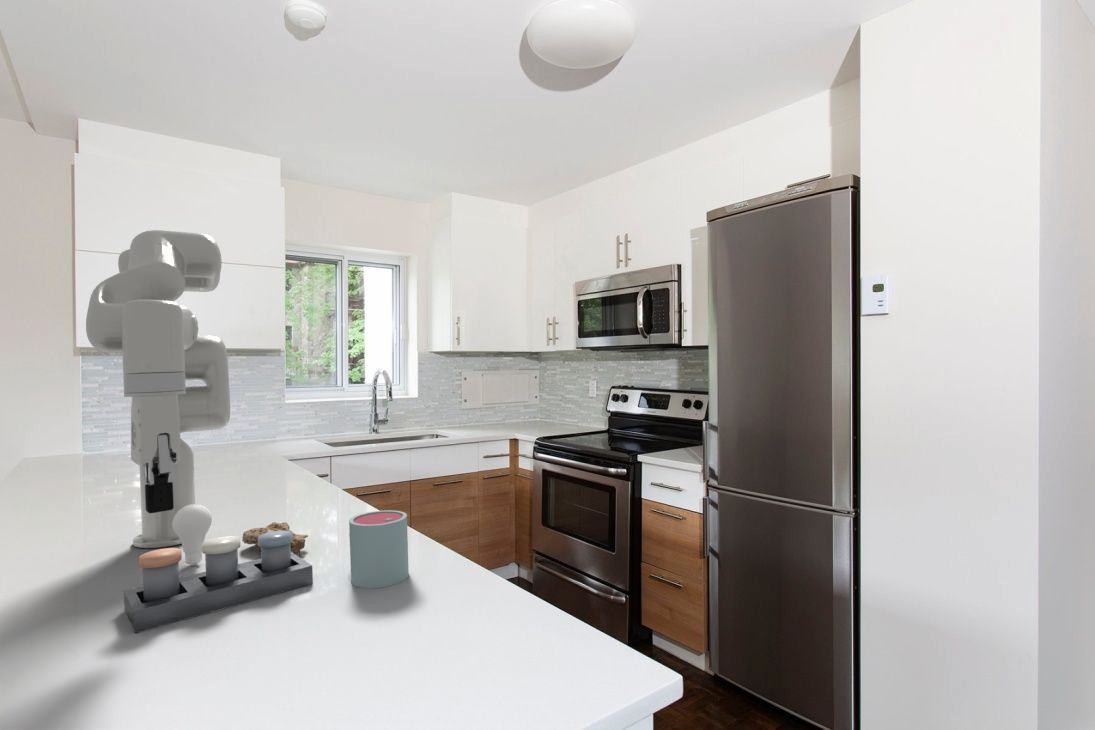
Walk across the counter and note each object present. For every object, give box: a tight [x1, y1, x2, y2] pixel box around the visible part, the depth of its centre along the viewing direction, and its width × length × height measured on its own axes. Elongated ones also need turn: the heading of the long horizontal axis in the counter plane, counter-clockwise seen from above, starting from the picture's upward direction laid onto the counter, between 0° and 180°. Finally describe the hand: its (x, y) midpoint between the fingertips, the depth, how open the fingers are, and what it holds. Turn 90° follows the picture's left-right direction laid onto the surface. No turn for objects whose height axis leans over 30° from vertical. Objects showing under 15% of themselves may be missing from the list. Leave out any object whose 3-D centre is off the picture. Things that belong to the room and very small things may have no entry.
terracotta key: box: [138, 547, 183, 602], centre depth 86 cm, size 5×5×6 cm
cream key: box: [202, 535, 241, 586], centre depth 92 cm, size 5×5×6 cm
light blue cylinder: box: [258, 530, 294, 573], centre depth 97 cm, size 5×5×6 cm
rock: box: [241, 521, 309, 557], centre depth 115 cm, size 17×5×10 cm
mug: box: [348, 509, 409, 589], centre depth 100 cm, size 14×9×10 cm
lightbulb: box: [172, 503, 213, 567], centre depth 107 cm, size 6×6×11 cm
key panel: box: [123, 552, 314, 634], centre depth 92 cm, size 10×24×3 cm, turn 132°
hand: (159, 510), depth 86 cm, fingers closed
